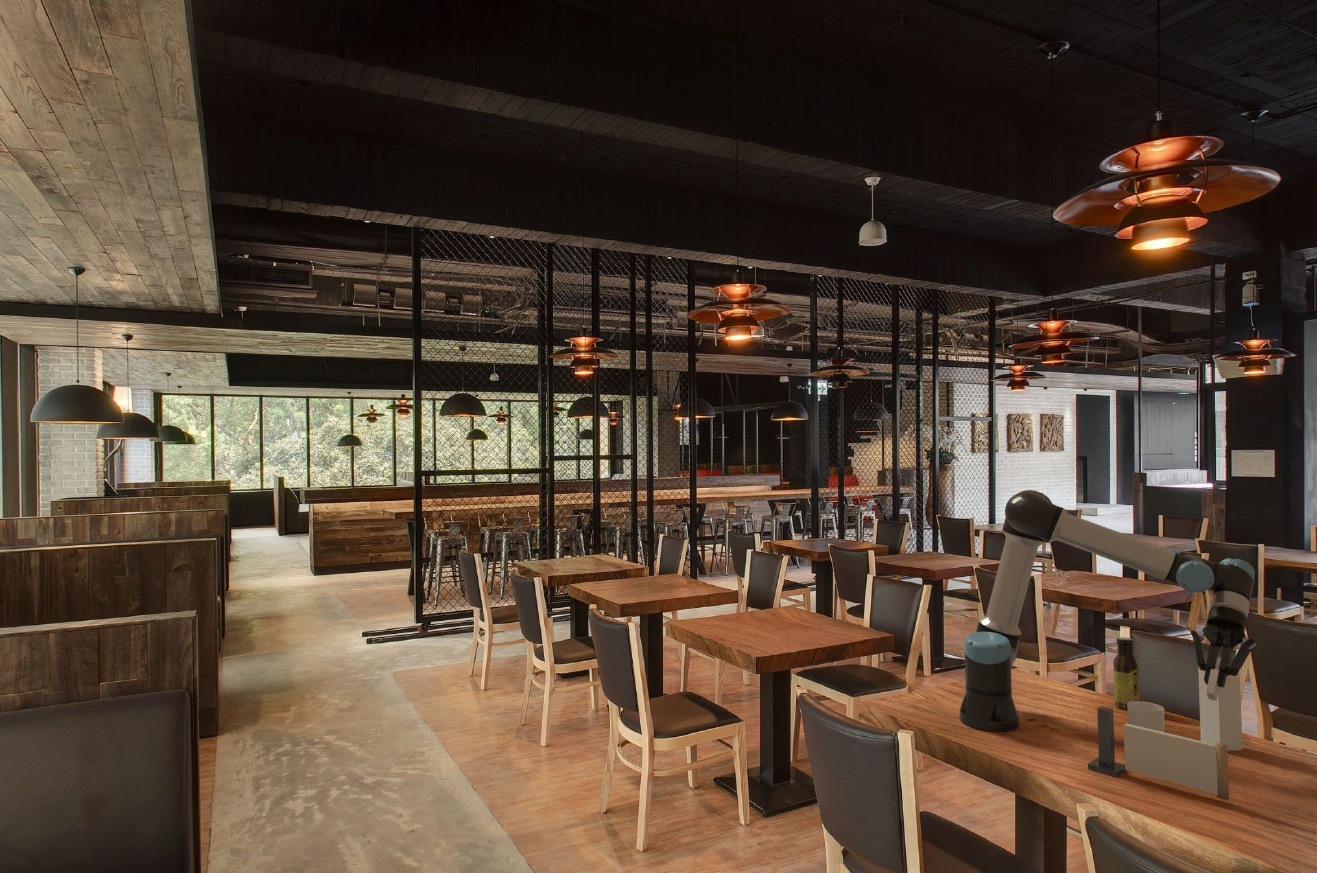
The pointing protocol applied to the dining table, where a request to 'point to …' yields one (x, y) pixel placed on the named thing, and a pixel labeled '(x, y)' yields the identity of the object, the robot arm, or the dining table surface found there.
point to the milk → (1221, 713)
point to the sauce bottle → (1125, 674)
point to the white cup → (1146, 715)
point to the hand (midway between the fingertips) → (1211, 696)
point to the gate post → (1106, 745)
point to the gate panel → (1177, 759)
